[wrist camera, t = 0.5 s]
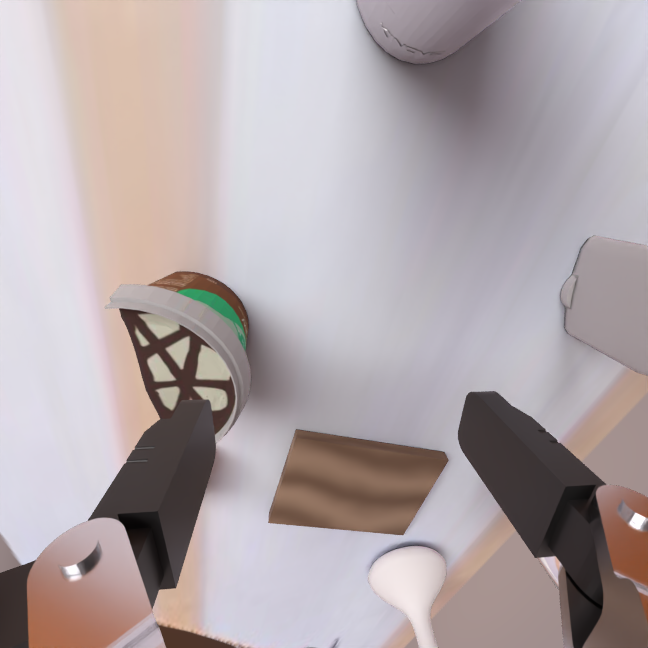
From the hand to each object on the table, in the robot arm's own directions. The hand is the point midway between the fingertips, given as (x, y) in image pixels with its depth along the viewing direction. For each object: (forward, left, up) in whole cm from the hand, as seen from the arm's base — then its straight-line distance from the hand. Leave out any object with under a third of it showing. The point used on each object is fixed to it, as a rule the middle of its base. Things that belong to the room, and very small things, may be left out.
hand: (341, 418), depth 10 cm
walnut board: (+24, +12, -18) cm, 33 cm away
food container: (+6, -6, -18) cm, 20 cm away
